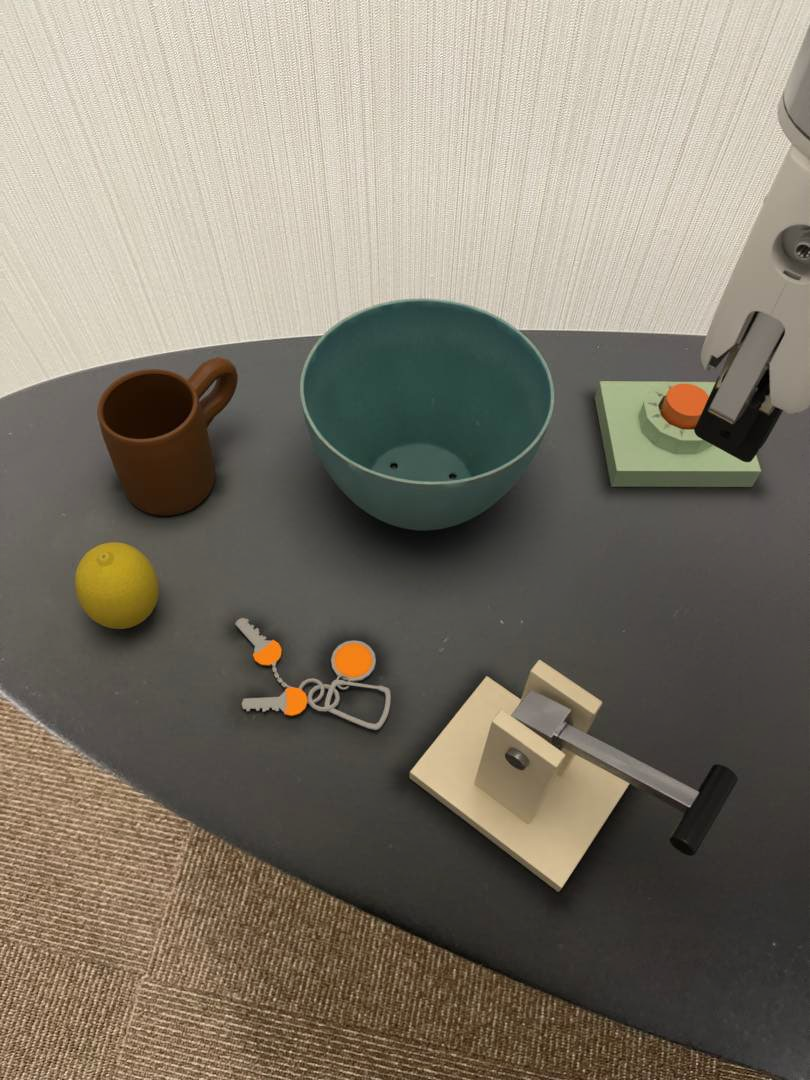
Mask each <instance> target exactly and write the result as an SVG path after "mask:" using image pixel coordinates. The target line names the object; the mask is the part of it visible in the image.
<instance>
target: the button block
mask: <svg viewBox="0 0 810 1080" xmlns="http://www.w3.org/2000/svg"><path fill="white" fill-rule="evenodd" d="M682 383H686V384H692V385H695V386H698V387H700V388H701V389H703V390H704V391H705V392H706V393H707V394H708V396H710V394H711V391H712V389H713V387H714V385H715V383H716V381H645V380H643V381H641V380H640V381H637V380H636V381H635V380H632V381H631V380H630V381H627V380H625V381H624V380H622V381H621V380H620V381H619V380H600V381H599V383H598V385H597V388H596V391H595V395H594V403H595V408H596V412H597V418H598V424H599V428H600V429H599V430H600V435H601V439H602V440H601V441H602V446H603V450H604V455H605V462H606V467H607V471H608V479H609V482H610V486H611V488H615V487H616V488H753V486H754V484H755V483H756V482H757V479H758V478H759V476H760V474H761V473H762V469H761V465H760V463H759V459H758V456H757V455H756V456H755V457H754V458H753V460H752V461H751V462H743V461H741V460H739V459H738V458H736V457H734V456H732V455H730V454H728V453H727V452H725V451H723V450H721V449H719V448H717V447H716V446H714V445H712V444H710V443H708V442H706V441H705V440H703V439H701V438H699V437H698V436H697V435H696V434H695V432H694V429H680V428H678V427H675V426H673V425H670V424H669V423H668V422H667V421H666V420H665V419H664V418H663V416H662V413H661V408H662V405H663V402H664V400H665V397H666V395H667V392H668V390H669V389H670V388H671V387H673V386H674V385H677V384H682Z"/></svg>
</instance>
